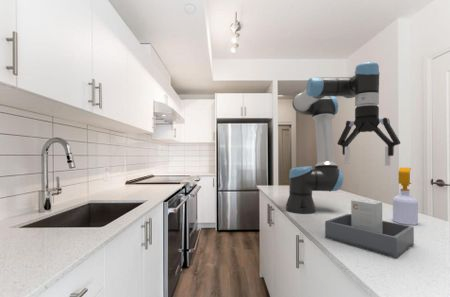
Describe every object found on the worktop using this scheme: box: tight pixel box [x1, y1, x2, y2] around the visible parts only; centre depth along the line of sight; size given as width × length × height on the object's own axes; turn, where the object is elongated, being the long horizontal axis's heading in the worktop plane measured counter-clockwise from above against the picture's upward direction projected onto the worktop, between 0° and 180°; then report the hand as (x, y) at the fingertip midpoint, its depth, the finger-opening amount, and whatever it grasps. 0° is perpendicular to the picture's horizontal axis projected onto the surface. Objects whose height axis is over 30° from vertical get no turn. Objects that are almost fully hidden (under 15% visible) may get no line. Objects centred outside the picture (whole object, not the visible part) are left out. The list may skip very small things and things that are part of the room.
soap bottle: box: [392, 166, 419, 226], centre depth 110 cm, size 9×9×25 cm
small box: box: [350, 198, 383, 234], centre depth 86 cm, size 8×6×13 cm
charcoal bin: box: [324, 213, 415, 259], centre depth 86 cm, size 22×18×6 cm
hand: (366, 164), depth 89 cm, fingers open, 13 cm apart
